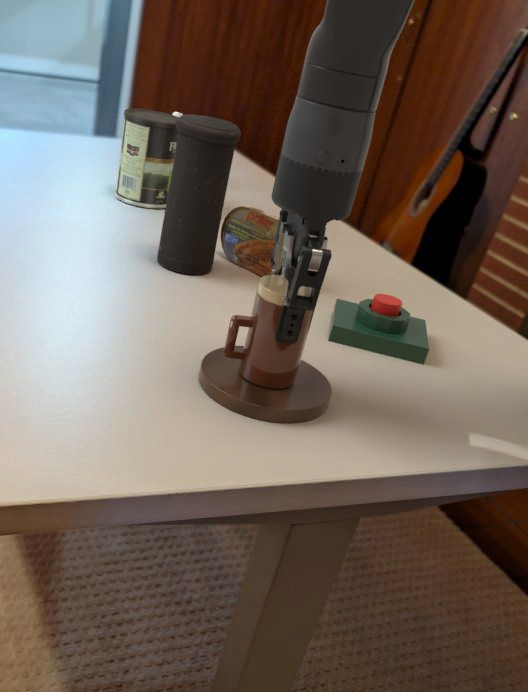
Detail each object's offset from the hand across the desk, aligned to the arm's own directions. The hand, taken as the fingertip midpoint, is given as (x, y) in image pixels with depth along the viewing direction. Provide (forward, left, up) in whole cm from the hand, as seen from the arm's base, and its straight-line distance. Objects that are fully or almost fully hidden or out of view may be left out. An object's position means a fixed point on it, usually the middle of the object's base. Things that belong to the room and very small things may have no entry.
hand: (280, 327), depth 76 cm
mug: (+1, 0, -5) cm, 6 cm away
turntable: (0, 0, -7) cm, 7 cm away
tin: (+6, -37, -7) cm, 38 cm away
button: (-12, -22, -4) cm, 25 cm away
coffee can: (+30, -60, -7) cm, 67 cm away
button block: (-12, -22, -7) cm, 26 cm away
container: (+16, -32, -7) cm, 37 cm away
